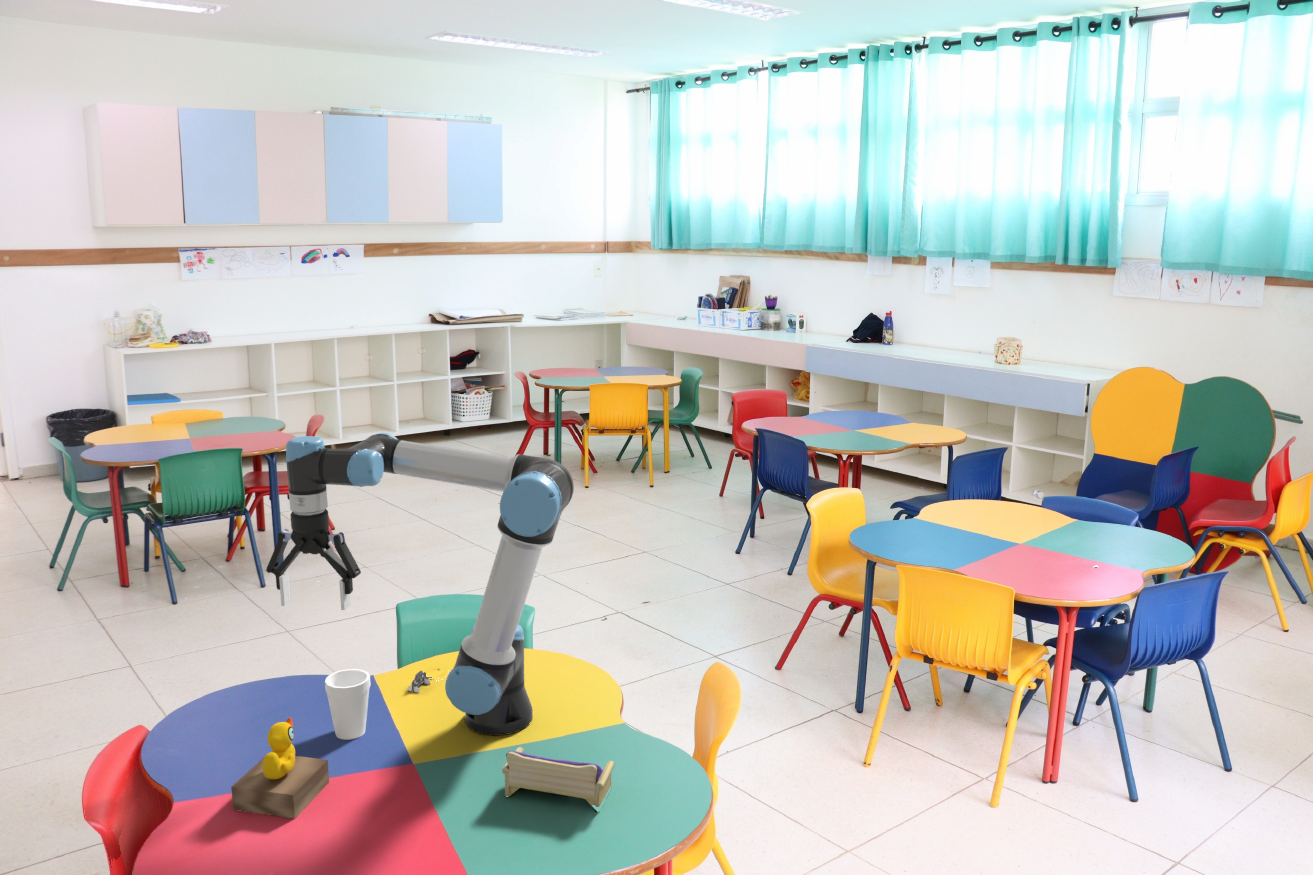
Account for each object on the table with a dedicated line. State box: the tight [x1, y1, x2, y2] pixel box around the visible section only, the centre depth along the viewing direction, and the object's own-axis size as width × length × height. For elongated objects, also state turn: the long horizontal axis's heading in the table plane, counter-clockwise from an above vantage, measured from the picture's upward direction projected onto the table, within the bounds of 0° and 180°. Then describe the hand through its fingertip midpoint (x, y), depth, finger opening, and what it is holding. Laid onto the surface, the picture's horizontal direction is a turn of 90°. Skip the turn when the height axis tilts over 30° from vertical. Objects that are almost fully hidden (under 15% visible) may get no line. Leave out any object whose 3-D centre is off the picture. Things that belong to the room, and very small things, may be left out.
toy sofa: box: [501, 746, 615, 807], centre depth 203 cm, size 21×9×10 cm, turn 76°
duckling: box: [263, 717, 296, 779], centre depth 200 cm, size 11×5×10 cm, turn 178°
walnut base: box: [231, 755, 330, 820], centre depth 202 cm, size 13×13×5 cm
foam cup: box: [324, 668, 371, 741], centre depth 225 cm, size 10×9×13 cm
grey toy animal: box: [407, 670, 443, 693], centre depth 252 cm, size 15×7×4 cm, turn 160°
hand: (315, 605), depth 219 cm, fingers open, 13 cm apart
